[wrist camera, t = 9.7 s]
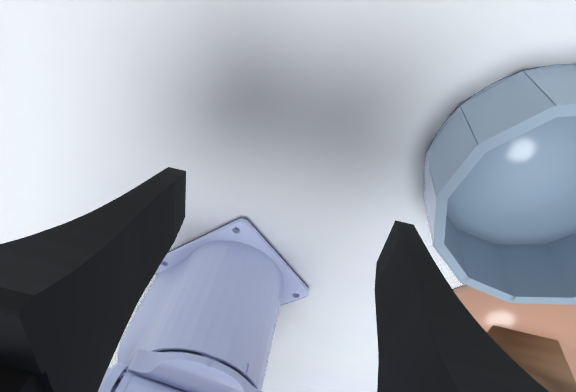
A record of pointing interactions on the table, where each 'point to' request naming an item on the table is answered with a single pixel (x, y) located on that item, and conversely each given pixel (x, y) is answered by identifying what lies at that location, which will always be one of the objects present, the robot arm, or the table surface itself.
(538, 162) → the bowl
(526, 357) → the walnut block
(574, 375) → the peach round plate
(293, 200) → the table surface
